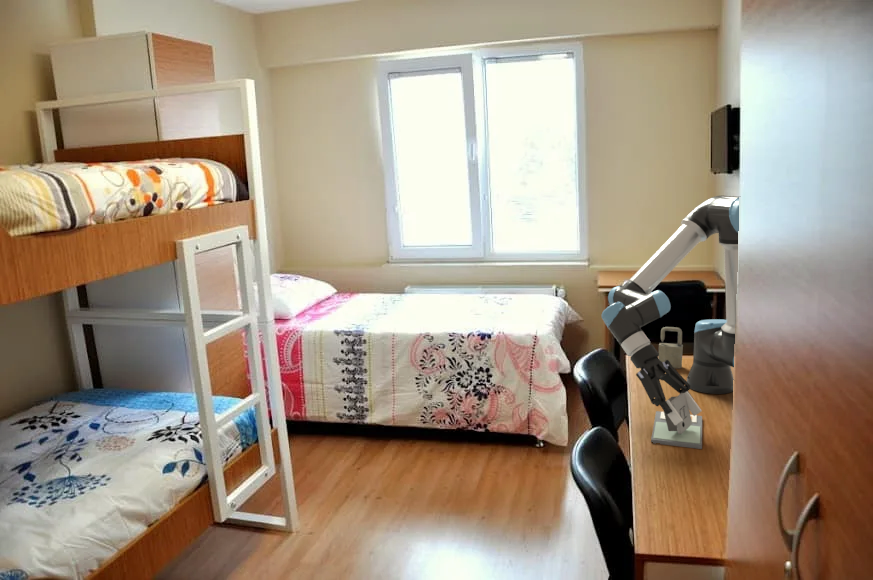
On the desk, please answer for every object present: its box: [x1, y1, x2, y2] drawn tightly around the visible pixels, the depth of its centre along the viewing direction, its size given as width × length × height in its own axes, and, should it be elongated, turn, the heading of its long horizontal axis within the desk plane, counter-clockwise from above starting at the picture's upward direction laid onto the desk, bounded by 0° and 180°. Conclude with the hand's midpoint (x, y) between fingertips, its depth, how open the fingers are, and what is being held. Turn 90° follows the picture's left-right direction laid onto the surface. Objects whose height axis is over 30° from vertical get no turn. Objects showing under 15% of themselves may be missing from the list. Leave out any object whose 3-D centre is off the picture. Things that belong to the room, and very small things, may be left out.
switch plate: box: [650, 410, 703, 450], centre depth 192 cm, size 22×13×1 cm, turn 159°
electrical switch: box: [663, 393, 692, 434], centre depth 187 cm, size 9×5×9 cm, turn 141°
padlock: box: [658, 326, 684, 369], centre depth 248 cm, size 4×8×15 cm, turn 66°
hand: (688, 418), depth 185 cm, fingers closed on electrical switch, 9 cm apart
